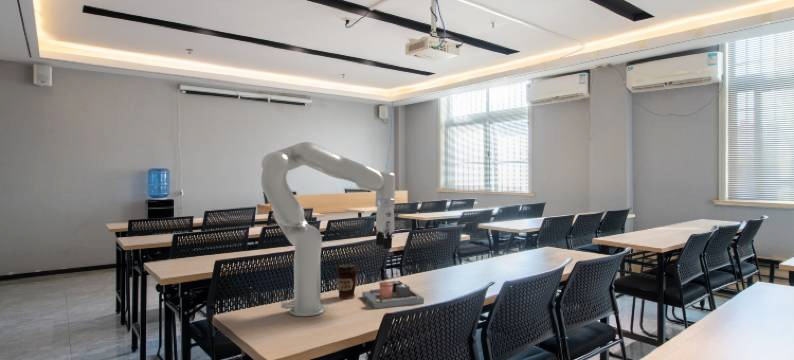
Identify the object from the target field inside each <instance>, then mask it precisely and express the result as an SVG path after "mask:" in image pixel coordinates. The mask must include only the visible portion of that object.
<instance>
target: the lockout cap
mask: <svg viewBox="0 0 794 360" xmlns="http://www.w3.org/2000/svg"><path fill="white" fill-rule="evenodd" d="M378 284H379V289H380V299H381V300H383V299H392V285H393V283H392V282H391V281H381V282H379V283H378Z"/></svg>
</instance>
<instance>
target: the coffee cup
mask: <svg viewBox="0 0 794 360" xmlns="http://www.w3.org/2000/svg"><path fill="white" fill-rule="evenodd" d="M337 267H338V268H337V269H336V277H337V289H338V298H340V299H342V300H349V299H354V298H356V295H355V290H356V286H357V274H358V268H357V265H356V264H340V265H338V266H337Z"/></svg>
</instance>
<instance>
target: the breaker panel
mask: <svg viewBox="0 0 794 360" xmlns="http://www.w3.org/2000/svg"><path fill="white" fill-rule="evenodd" d="M390 282H392V283H393V285H392V299H383V300H381V299H380V288H376V289H370V290H369V291H368V290H367V291H362V292H361V293H362V295H361V296H362V297H361V298H363V299H364V301H366V302H367V303H368V304H369V305H370V306H371V307H372V308H373V309H374V310H375V309H376V310H377V309H384V308H385V307H386V308H394V307H402V306H411V305H420V304H421V305H422V304H425V298H424V297H423V296H421V295H420V294H419V293H418V292H416V291H414V290H413V289H412V288H410V297H402V298H399V297H398V296H397V295H396V285H404V284H405V283H404V284H403V282H402V281H400V280H393V281H390Z"/></svg>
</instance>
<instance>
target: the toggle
mask: <svg viewBox="0 0 794 360" xmlns="http://www.w3.org/2000/svg"><path fill="white" fill-rule="evenodd" d="M410 289H411V288H410V286H409V285H408V284H405V283H404V285H396V295H397V296H398V297H399V298H402V297H410Z"/></svg>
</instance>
